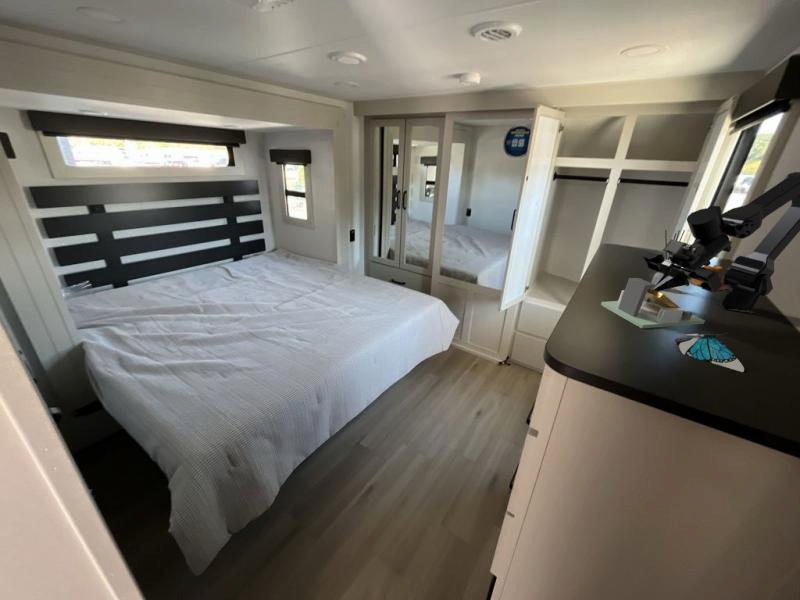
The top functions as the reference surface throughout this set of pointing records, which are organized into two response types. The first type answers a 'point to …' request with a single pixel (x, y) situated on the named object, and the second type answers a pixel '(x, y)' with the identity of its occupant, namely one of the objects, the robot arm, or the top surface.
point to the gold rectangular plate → (660, 299)
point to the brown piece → (715, 268)
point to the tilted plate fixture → (647, 308)
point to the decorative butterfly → (709, 350)
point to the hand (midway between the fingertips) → (651, 291)
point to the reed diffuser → (666, 253)
